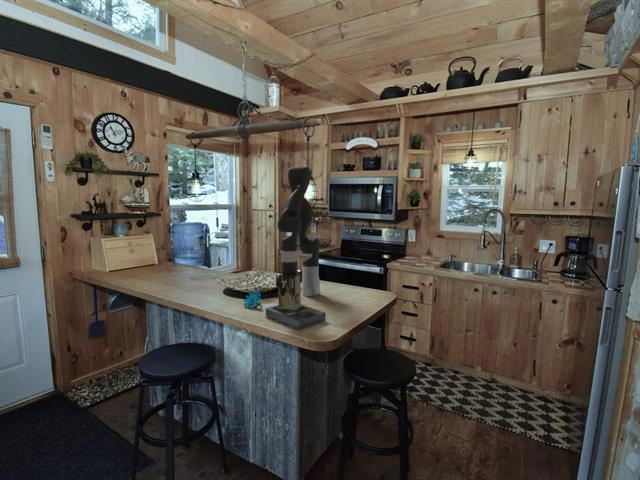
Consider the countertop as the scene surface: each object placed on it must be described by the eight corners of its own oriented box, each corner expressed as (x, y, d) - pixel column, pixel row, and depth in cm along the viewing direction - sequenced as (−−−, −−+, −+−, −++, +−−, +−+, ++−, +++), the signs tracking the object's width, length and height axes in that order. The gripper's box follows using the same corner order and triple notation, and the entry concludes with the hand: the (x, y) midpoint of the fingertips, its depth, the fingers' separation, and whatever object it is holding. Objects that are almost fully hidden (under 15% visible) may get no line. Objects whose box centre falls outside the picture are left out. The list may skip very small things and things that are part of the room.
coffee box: (301, 306, 163) (301, 273, 161) (295, 310, 157) (295, 276, 155) (284, 304, 167) (284, 272, 165) (277, 308, 161) (277, 274, 159)
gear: (239, 303, 177) (251, 287, 180) (245, 308, 181) (257, 293, 184) (252, 311, 170) (264, 294, 173) (258, 316, 174) (270, 300, 177)
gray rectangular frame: (291, 308, 174) (291, 300, 173) (325, 321, 157) (325, 312, 156) (265, 316, 162) (265, 307, 162) (299, 330, 146) (299, 320, 145)
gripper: (295, 257, 167) (295, 289, 169) (272, 260, 157) (272, 295, 159) (306, 259, 162) (306, 292, 164) (282, 263, 151) (282, 298, 153)
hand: (289, 293), depth 161 cm, fingers closed on coffee box, 8 cm apart
